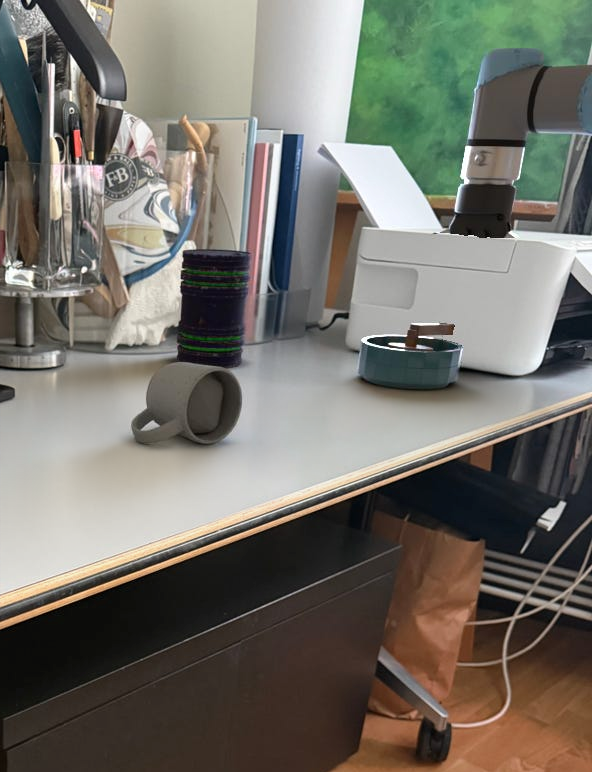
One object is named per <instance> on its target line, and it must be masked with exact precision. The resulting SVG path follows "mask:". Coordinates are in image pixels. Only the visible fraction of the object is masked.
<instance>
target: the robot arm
mask: <svg viewBox="0 0 592 772" xmlns="http://www.w3.org/2000/svg"><path fill="white" fill-rule="evenodd" d="M543 61H544V52H543V51H542V50H541V49H538V48H534V47H533V48H532V47H531V48H530V47H517V48H516V47H505V48H504V47H503V48H495V49H492V50H490V51H488V52H487V53H486V54H485V55H484V57H483V59H482V61H481V65H480V70H479V74H478V78H477V82H476V86H475V88H474V93H473V94H474V96H473V97H474V98H473V105H472V109H471V110H472V111H471V116H470V123H469V128H468V135H467V140H466V146H465V150H464V155H463V156H464V157H463V162H462V168H461V174H460V178H461V179H462V180H464V181H463V182H464V183H460V186H458V190H457V194H456V199H455V204H454V205H455V206H454V217H453V219H452V221H451V222H450V224H449V227H448V228H446V229H444V230H441V231H440V232H439V231H438V232H437V231H436V232H433V233H432V234H439V233H450V234H459V235H464V236H468V235H474V236H477V237H479V238H487V237H490V238H518V237H519V236H518V235H516V234H515V233H513V232H512V225H511V216H512V214H513V210H514V209H513V208H514V204H515V200H516V194H517V188H516V187H517V186H516V185H514V181H516V182H517V181H518V180H520V177H521V170H522V165H523V160H524V155H525V148H526V146H527V139H528V135H529V134H560V135H561V134H562V135H563V134H564V135H565V134H567V135H582V136H591V137H592V64H579V65H578V64H577V65H559V66H552V65H549V66H548V65H544V62H543Z"/></svg>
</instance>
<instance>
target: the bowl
mask: <svg viewBox="0 0 592 772" xmlns="http://www.w3.org/2000/svg"><path fill="white" fill-rule="evenodd" d="M406 337H407V335H403V334H402V335H401V334H382V335H381V334H380V335H370V336H366V337H363V338H362V339H360V346H359V354H358V360H357V368H356V372H357V374H358V375H361V376H362V377H363V380H364V381H366V382H368V383H370V384H375V385H377V386H382V387H387V388H394V389H405V390H437V389H443V388H446V387H448V386H449V385H450V384H451V383H455V382H456V381H457V380H458V377H459V372H460V366H461V363H462V362H461V357H462V352H463V347H462V345H460V344H458V343H455V342H452V341H447V340H443V339H442V338H435V337H430V336H429V337H427V336H419V338H418V343H417V345H422V346H427V347H431V348H433V351H411V350H401V349H392V348H388V344H389V343H405V342H406Z"/></svg>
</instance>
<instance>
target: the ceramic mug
mask: <svg viewBox="0 0 592 772" xmlns="http://www.w3.org/2000/svg"><path fill="white" fill-rule="evenodd" d="M147 385H148V386H147V390H146V395H145V403H146V408H145V409H143V410H142V411H141V412H140V413H138V414H137V415H136V416H135V417H134V418H133V419H132V420H131V424H130V429H131V431H132V434H133V436H134V437H133V438H134V440H136V442H138V443H141V444H147V445H150V444H156V443H157V444H158V443H160V442H164V441H166V440H169V439H171V438H172V437H173V438H174V436H176V435H179V436H181V437H183V438H186V439H188V440H191V441H193V442H197V443H198V444H203V445H211V444H212V445H213V444H215V443H219V442H220V441H222V440H224V439H225V438H226V437H227V436H229V435H230V433H232V431H233V430H234V428H235V427H236V425H237V423H238V421H239V419H240V415H241V412H242V408H243V407H242V406H243V394H242V393H243V392H242V388H241V385H240V382H239V380H238V378H237V377H236V375H235V374H234V373H233V372H232V371H231V370H230V369H227V368H222V367H217V366H208V365H201V364H193V363H187V362H177V361H176V362H172V363H168V364H166V365H163V366H161V368H159V369H158V370H157V371H156V372H155V373H154V374H153V375H152V377H151V379H150V381H149V382H148V384H147ZM151 422H154V423H155V424H156V425H158V426H157V427H154V428H151V429H147V430H146V429H143V428H144V427H146V426H147V425H148V424H149V423H151ZM142 429H143V430H142Z"/></svg>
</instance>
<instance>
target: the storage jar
mask: <svg viewBox="0 0 592 772" xmlns="http://www.w3.org/2000/svg"><path fill="white" fill-rule="evenodd" d="M181 255H182V257H181V258H182V262H181V269H182V270H180V276H179V277H180V280H181V281H180V286H179V292H180V294H181V302H180V303H181V304H180V320H178V322H177V324H178V325H177V332H178V333H177V334H176V343H177V344H178V345H177V348H176V349H177V355H176V363H177V362H187V363H193V364H201V365H208V366H217V367H222V368H225V369H227V368H234V367H238V366H241V365H242V364H243V358H242V355H243V352H244V348H243V347H244V346H245V340H246V338H245V334H246V332H247V329H246V324H245V312H246V302H247V301H246V300H247V296H248V295H249V291H250V289H249V288H250V284H249V283H250V282H251V273H250V271H251V263H250V261H251V260H252V252H249V251H244V250H243V251H242V250H231V249H212V248H210V249H209V248H205V249H204V248H199V249H198V248H197V249H196V248H195V249H193V248H192V249H185V250H182V254H181Z"/></svg>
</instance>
